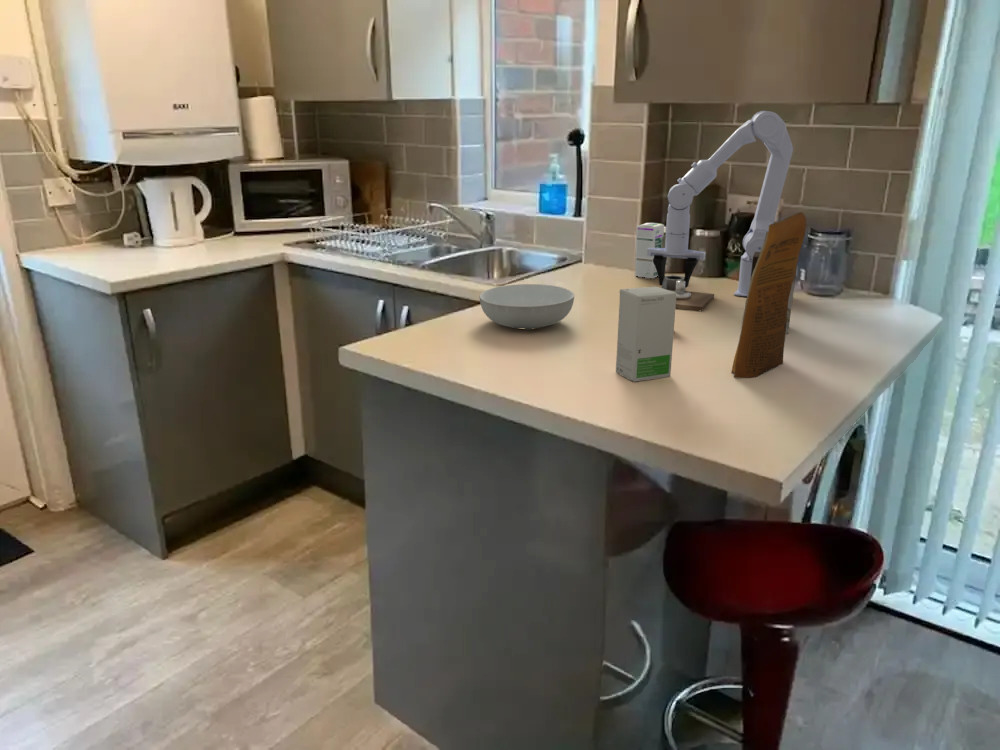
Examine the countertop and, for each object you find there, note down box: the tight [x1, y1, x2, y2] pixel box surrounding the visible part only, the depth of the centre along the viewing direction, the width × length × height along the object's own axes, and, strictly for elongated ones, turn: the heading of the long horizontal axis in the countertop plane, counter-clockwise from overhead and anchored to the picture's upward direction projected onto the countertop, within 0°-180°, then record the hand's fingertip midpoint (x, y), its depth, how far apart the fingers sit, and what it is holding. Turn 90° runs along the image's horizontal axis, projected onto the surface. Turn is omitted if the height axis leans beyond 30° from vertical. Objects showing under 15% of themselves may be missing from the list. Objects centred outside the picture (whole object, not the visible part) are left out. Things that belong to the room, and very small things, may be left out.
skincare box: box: [615, 286, 677, 383], centre depth 140 cm, size 8×7×16 cm
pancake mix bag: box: [731, 211, 807, 379], centre depth 140 cm, size 7×19×28 cm, turn 135°
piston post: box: [673, 280, 691, 300], centre depth 191 cm, size 5×5×4 cm
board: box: [666, 289, 715, 312], centre depth 192 cm, size 14×14×1 cm
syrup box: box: [634, 222, 665, 279], centre depth 217 cm, size 6×6×14 cm
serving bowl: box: [478, 283, 575, 330], centre depth 173 cm, size 21×21×7 cm
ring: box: [661, 274, 685, 290], centre depth 202 cm, size 6×6×4 cm
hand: (673, 285), depth 202 cm, fingers closed on ring, 6 cm apart
